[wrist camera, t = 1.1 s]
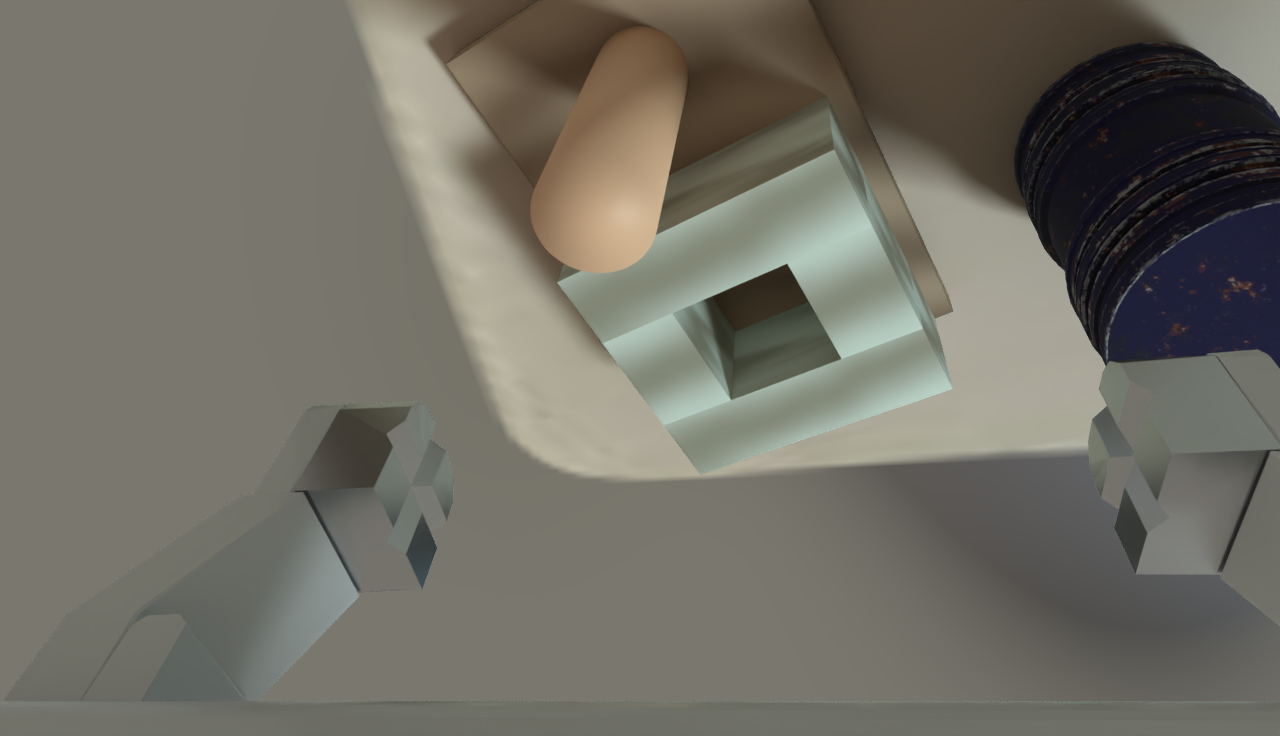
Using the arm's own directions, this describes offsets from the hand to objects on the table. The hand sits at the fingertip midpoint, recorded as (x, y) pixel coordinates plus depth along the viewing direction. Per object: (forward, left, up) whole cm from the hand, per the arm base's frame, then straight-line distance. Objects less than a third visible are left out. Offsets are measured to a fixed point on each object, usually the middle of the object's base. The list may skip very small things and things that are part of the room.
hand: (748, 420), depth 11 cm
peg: (+2, +9, -32) cm, 33 cm away
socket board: (-4, +12, -33) cm, 36 cm away
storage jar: (-20, +1, -34) cm, 39 cm away
